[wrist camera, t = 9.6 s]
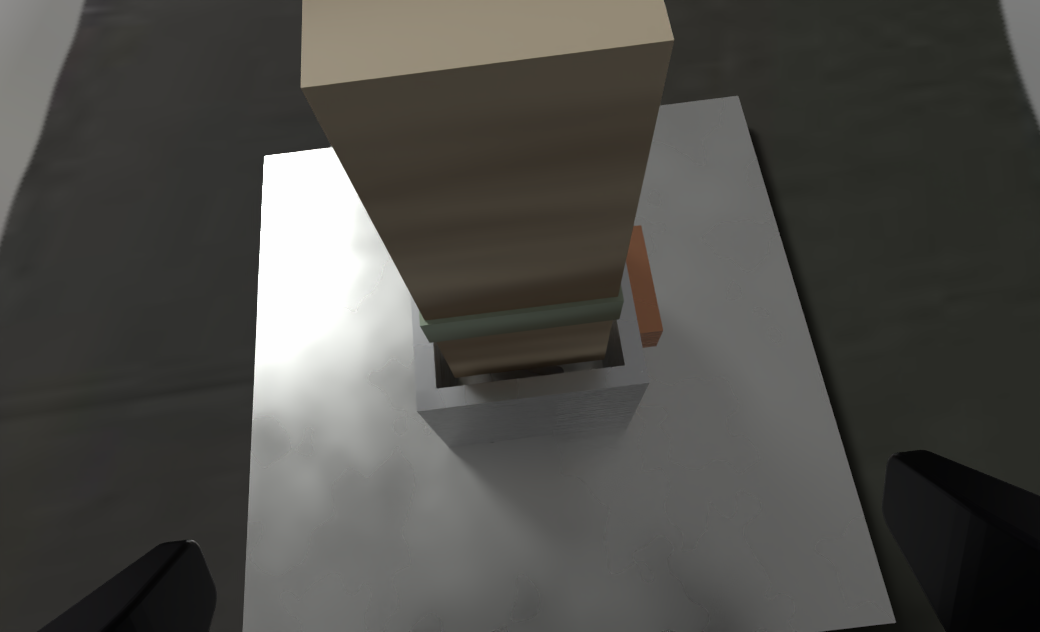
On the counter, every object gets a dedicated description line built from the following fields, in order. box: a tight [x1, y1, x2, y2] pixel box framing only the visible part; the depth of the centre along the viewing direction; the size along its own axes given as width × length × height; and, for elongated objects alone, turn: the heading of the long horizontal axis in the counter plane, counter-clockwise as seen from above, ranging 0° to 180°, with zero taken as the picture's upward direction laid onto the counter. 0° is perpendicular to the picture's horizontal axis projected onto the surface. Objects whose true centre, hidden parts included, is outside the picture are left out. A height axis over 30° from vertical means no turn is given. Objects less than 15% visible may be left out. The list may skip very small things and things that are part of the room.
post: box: [301, 0, 674, 378], centre depth 12 cm, size 4×4×10 cm
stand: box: [243, 96, 896, 632], centre depth 19 cm, size 18×18×6 cm
